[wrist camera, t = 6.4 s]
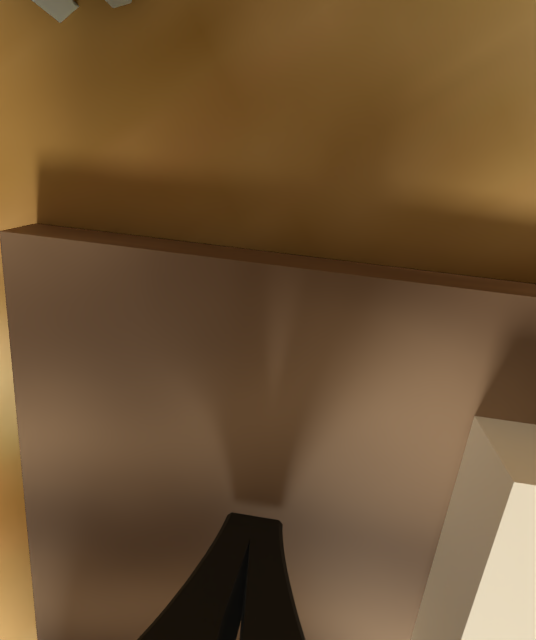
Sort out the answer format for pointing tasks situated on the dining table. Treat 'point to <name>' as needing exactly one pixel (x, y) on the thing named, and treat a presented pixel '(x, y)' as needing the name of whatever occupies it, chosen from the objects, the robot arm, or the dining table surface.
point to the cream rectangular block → (487, 542)
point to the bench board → (246, 419)
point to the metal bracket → (69, 7)
